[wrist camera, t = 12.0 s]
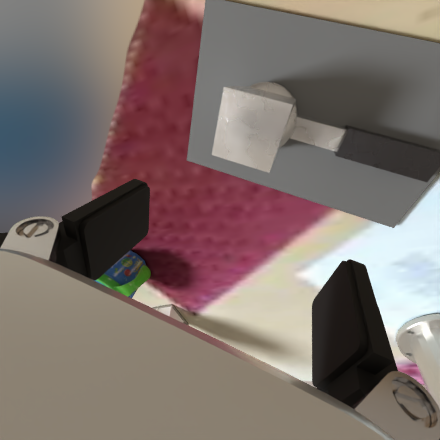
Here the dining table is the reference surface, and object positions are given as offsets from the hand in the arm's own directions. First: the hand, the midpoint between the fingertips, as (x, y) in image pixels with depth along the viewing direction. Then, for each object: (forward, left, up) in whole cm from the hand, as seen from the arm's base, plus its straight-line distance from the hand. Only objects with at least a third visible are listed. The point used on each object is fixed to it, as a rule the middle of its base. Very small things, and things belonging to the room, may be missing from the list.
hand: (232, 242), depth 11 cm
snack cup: (+21, +32, -21) cm, 44 cm away
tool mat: (-3, -3, -21) cm, 21 cm away
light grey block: (+2, -3, -18) cm, 18 cm away
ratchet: (-5, -3, -20) cm, 21 cm away
